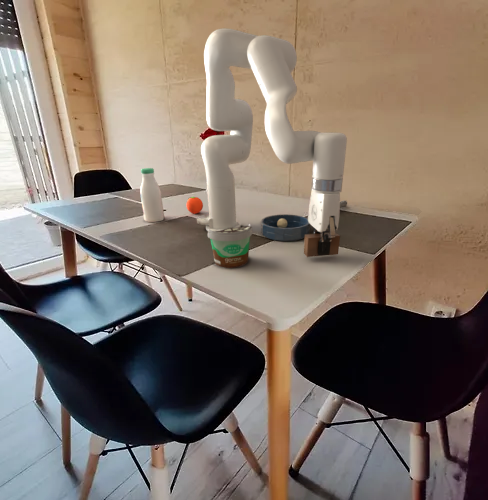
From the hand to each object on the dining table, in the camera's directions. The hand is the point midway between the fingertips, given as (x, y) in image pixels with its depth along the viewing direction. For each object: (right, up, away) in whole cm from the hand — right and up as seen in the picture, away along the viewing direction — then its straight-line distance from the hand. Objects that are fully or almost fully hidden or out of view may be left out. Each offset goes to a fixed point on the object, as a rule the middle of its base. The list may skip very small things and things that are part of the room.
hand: (321, 251), depth 85 cm
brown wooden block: (0, -1, 0) cm, 1 cm away
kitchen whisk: (+13, +15, +42) cm, 47 cm away
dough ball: (-9, +10, +23) cm, 27 cm away
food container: (-24, -4, -2) cm, 24 cm away
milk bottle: (-58, +12, +40) cm, 72 cm away
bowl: (-8, +6, +21) cm, 23 cm away
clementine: (-44, +16, +48) cm, 67 cm away
